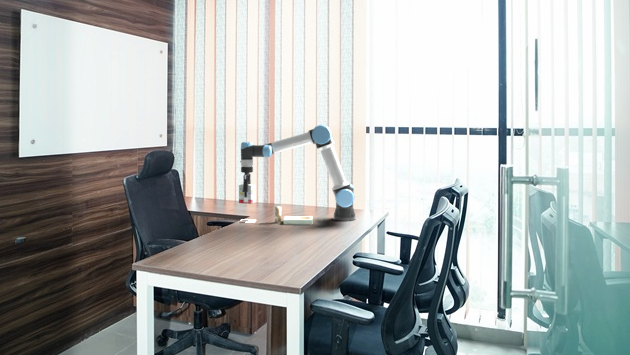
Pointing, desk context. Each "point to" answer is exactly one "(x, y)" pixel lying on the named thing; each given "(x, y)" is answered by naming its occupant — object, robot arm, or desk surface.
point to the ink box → (250, 194)
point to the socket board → (298, 220)
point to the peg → (277, 214)
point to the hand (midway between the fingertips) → (247, 201)
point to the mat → (250, 221)
